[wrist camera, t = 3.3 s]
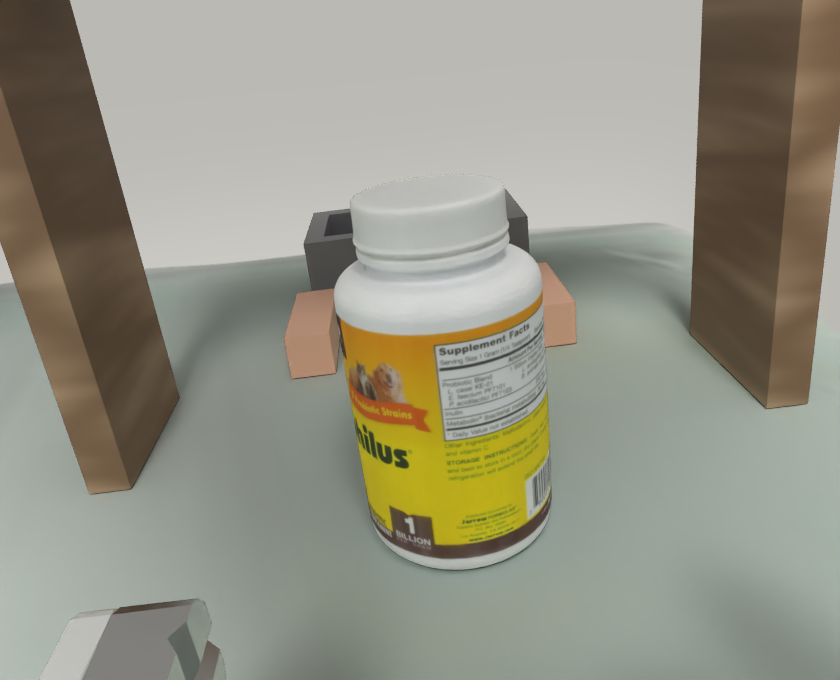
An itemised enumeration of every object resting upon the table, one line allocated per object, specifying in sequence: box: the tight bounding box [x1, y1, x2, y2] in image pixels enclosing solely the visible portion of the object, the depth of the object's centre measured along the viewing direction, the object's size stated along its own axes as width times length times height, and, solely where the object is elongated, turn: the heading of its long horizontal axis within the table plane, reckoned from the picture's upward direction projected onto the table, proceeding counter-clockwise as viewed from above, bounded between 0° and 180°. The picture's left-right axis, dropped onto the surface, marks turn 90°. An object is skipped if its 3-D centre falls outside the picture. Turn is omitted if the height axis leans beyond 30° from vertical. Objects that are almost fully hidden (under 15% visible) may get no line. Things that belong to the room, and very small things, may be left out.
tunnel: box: [0, 0, 840, 494], centre depth 26 cm, size 26×7×19 cm, turn 93°
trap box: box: [304, 189, 529, 291], centre depth 43 cm, size 12×7×4 cm, turn 93°
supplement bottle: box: [334, 174, 551, 570], centre depth 20 cm, size 6×6×10 cm
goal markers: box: [284, 262, 576, 379], centre depth 35 cm, size 13×6×2 cm, turn 93°
